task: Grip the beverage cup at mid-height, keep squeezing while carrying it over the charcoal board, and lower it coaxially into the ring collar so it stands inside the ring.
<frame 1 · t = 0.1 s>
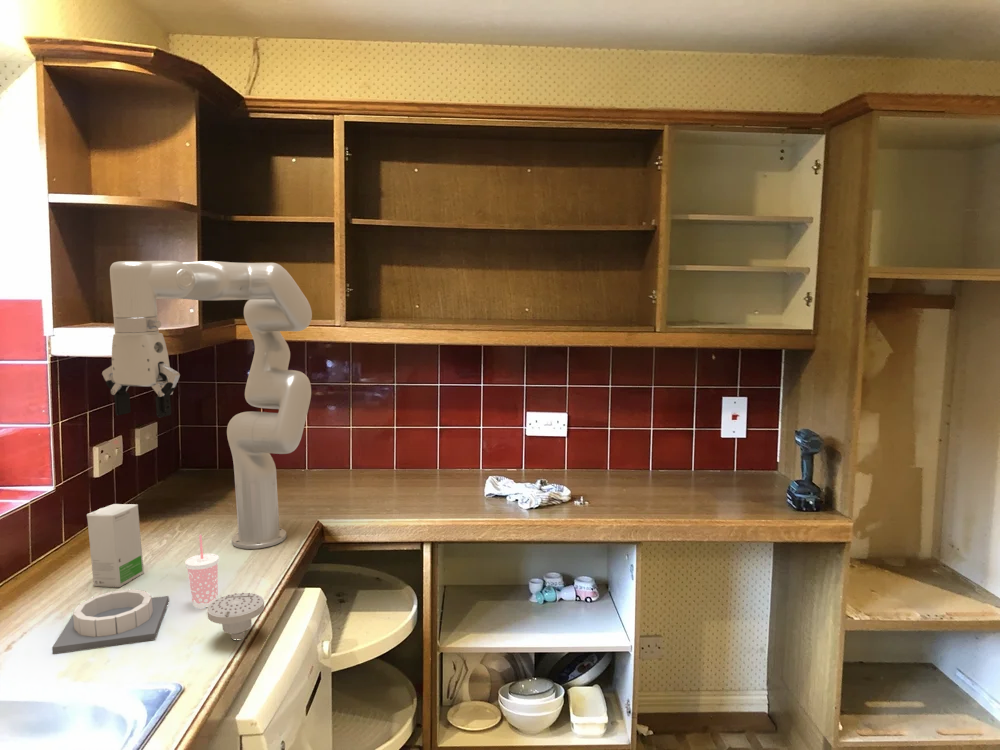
hand: (143, 415, 141), 37 cm above the counter, tool pointing down, fingers open, 9 cm apart
showerhead: (237, 639, 128), on the counter
ring holder: (115, 625, 134), on the counter
beverage cup: (205, 604, 143), on the counter
skincare box: (118, 580, 155), on the counter
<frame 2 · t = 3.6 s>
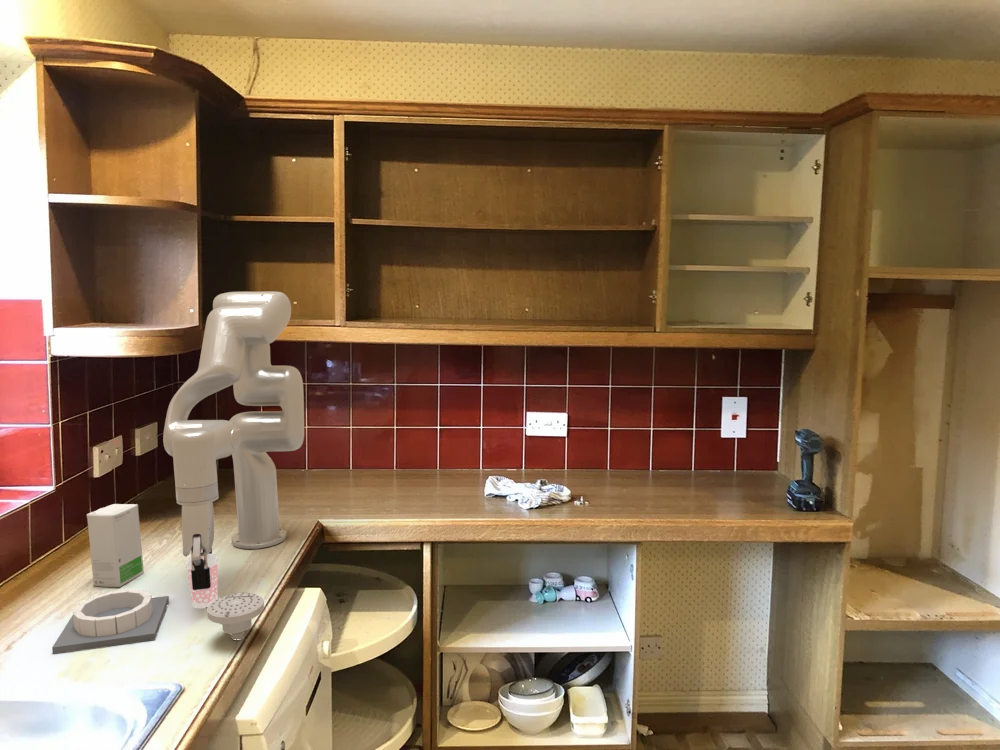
hand: (203, 580, 142), 5 cm above the counter, tool pointing down, fingers closed on beverage cup, 6 cm apart
beverage cup: (205, 604, 143), on the counter, touching gripper
everything else where it was.
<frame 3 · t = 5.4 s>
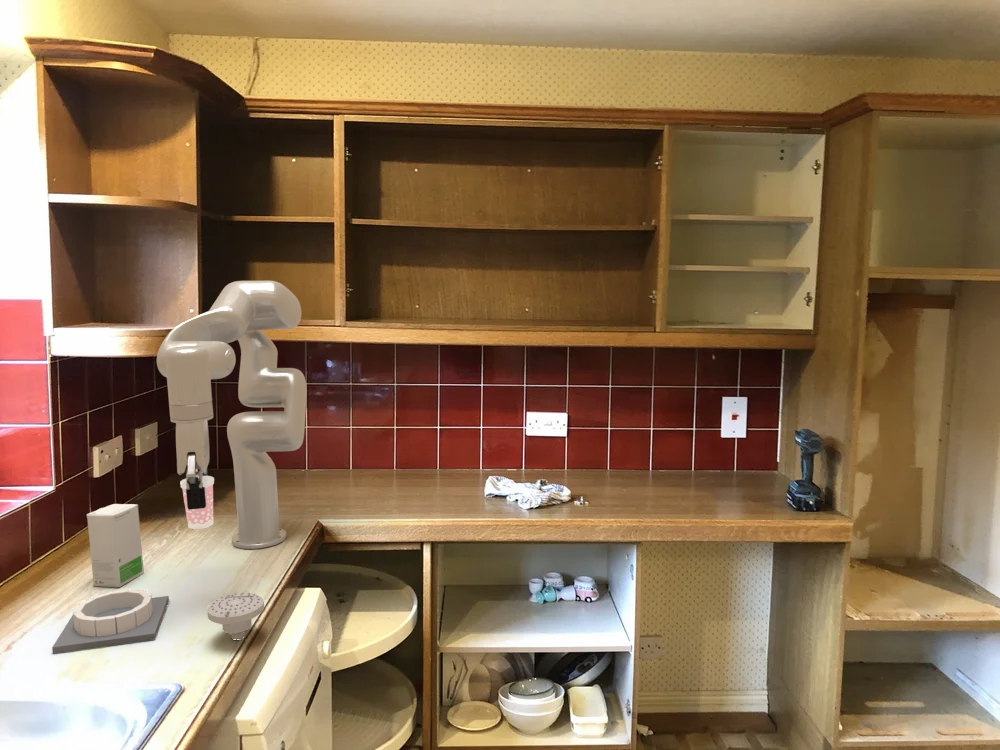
hand: (199, 501, 140), 20 cm above the counter, tool pointing down, fingers closed on beverage cup, 6 cm apart
beverage cup: (201, 525, 141), point 16 cm above the counter, touching gripper
everything else where it was.
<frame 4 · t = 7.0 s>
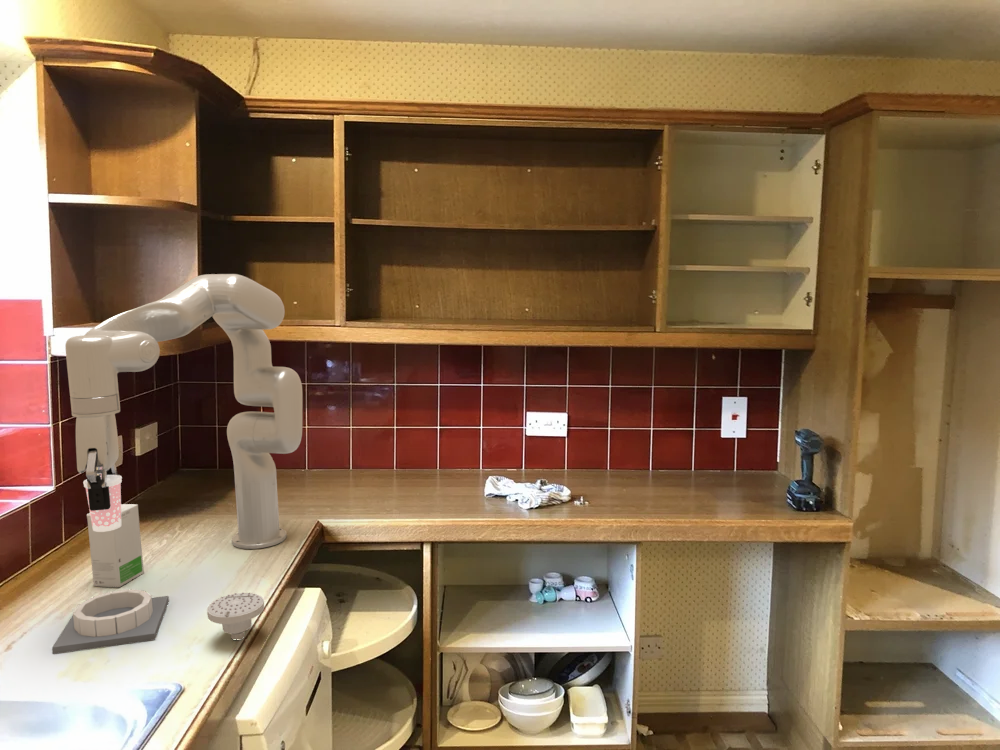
hand: (104, 502, 131), 23 cm above the counter, tool pointing down, fingers closed on beverage cup, 6 cm apart
beverage cup: (107, 528, 131), point 19 cm above the counter, touching gripper
everything else where it was.
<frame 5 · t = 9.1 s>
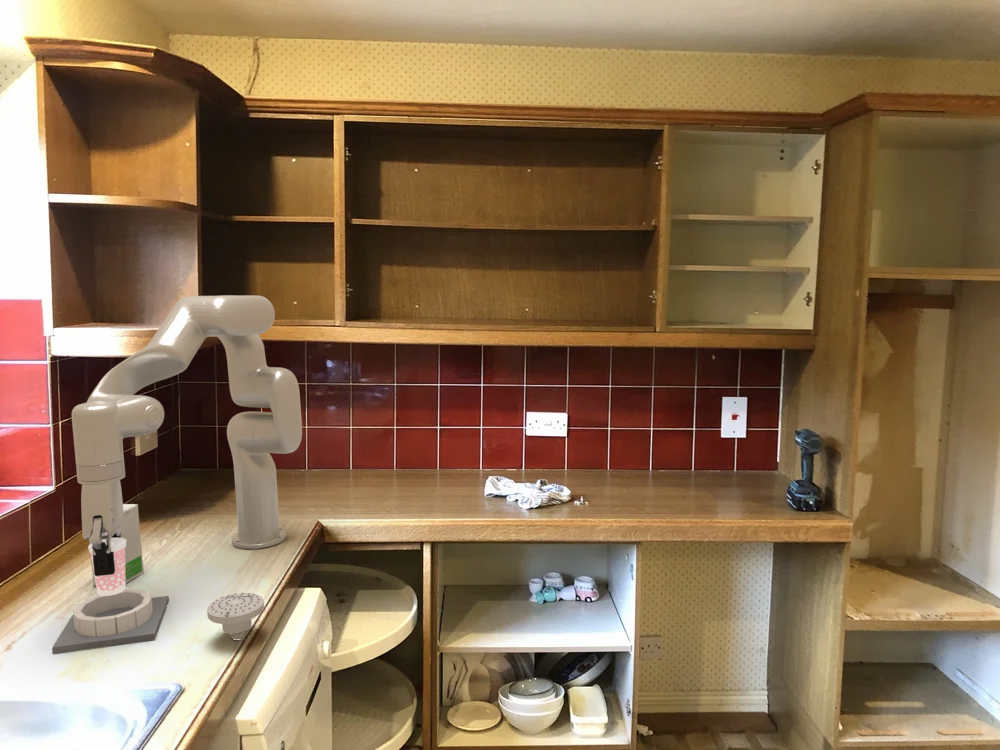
hand: (109, 566, 132), 11 cm above the counter, tool pointing down, fingers closed on beverage cup, 6 cm apart
beverage cup: (111, 591, 133), point 7 cm above the counter, touching gripper
everything else where it was.
when the fingers open (7 cm above the counter, at t = 10.6 s): beverage cup stays where it is, resting on ring holder.
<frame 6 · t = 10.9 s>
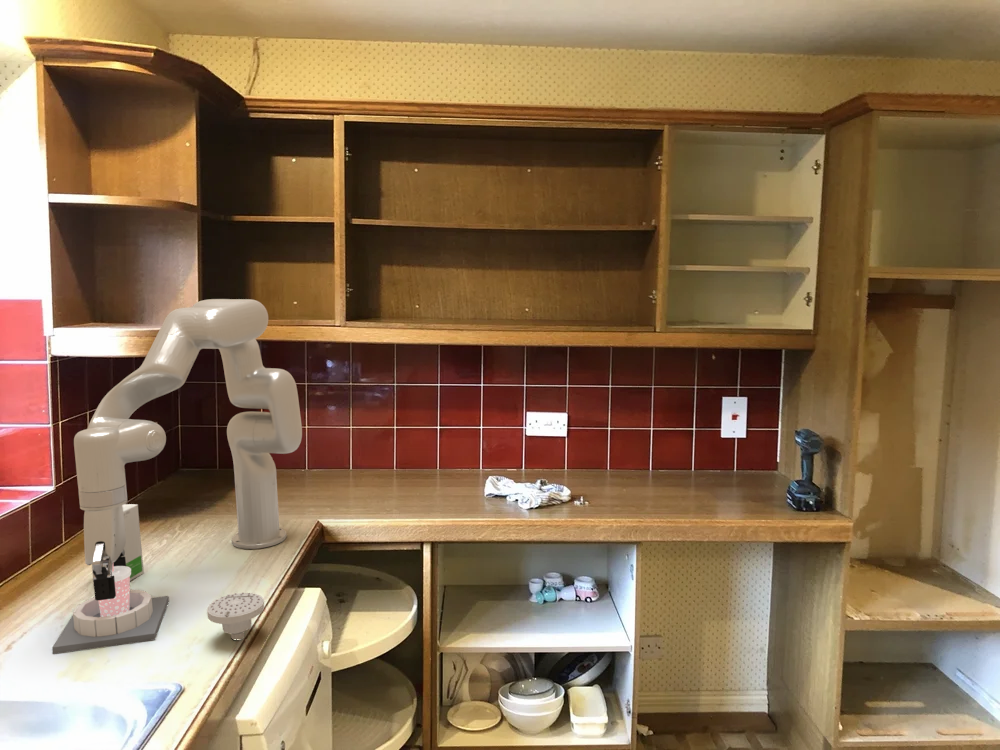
hand: (111, 587, 133), 7 cm above the counter, tool pointing down, fingers open, 8 cm apart
beverage cup: (115, 619, 134), point 1 cm above the counter, touching ring holder
everything else where it was.
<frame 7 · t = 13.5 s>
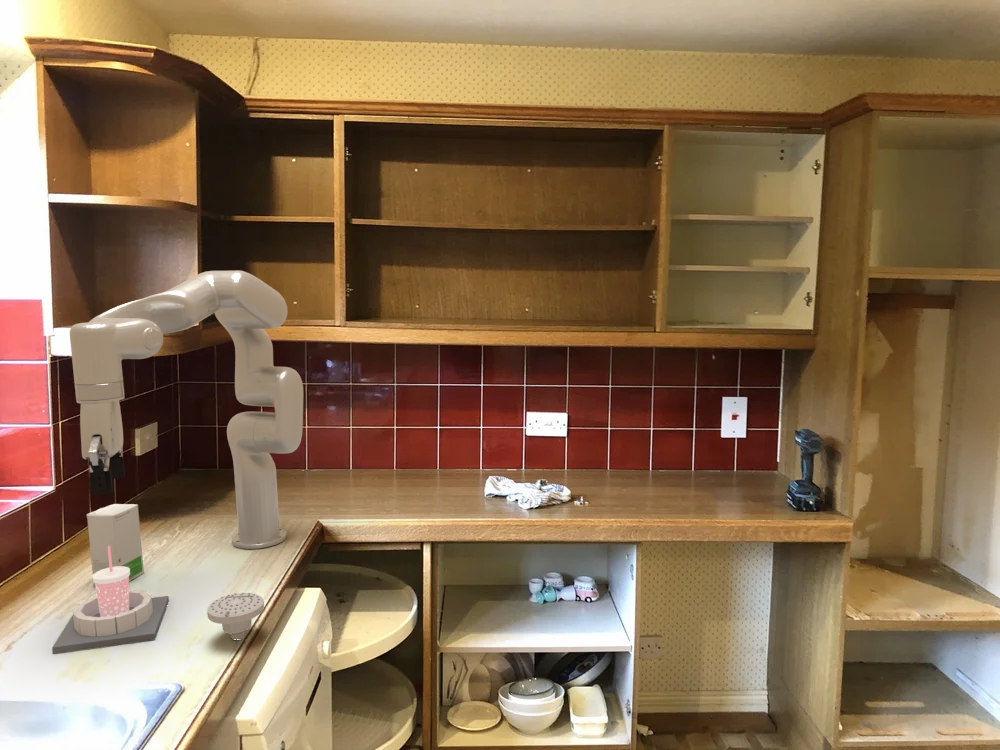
hand: (109, 485, 131), 26 cm above the counter, tool pointing down, fingers open, 9 cm apart
nothing on the counter moved.
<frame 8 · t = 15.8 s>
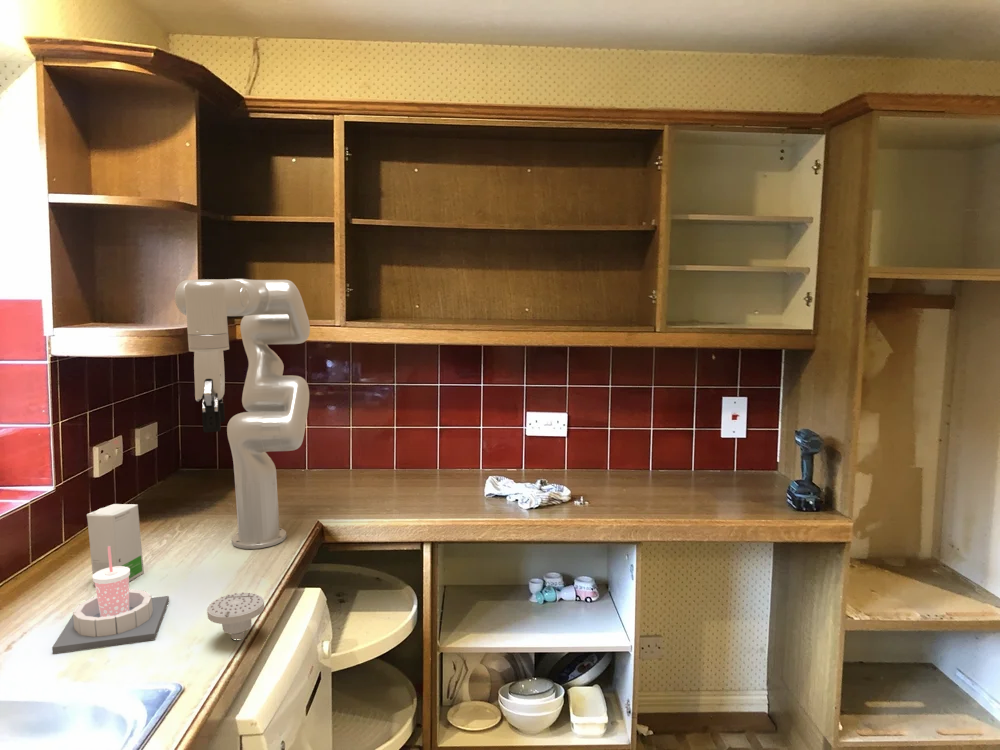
hand: (214, 426, 147), 33 cm above the counter, tool pointing down, fingers open, 9 cm apart
nothing on the counter moved.
at the end: beverage cup 0.2 cm off-centre on the ring holder, point 1.0 cm above the ring holder's base; beverage cup tilted 0°; the gripper is holding nothing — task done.
